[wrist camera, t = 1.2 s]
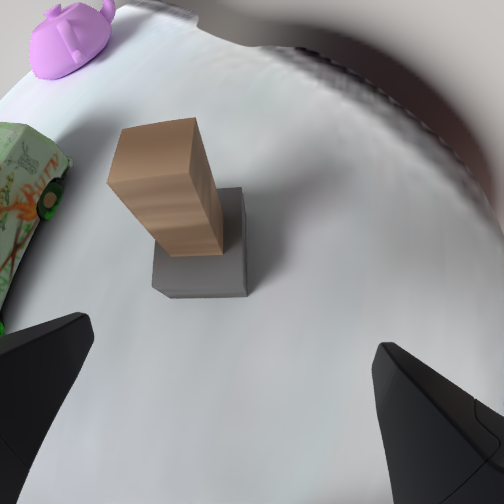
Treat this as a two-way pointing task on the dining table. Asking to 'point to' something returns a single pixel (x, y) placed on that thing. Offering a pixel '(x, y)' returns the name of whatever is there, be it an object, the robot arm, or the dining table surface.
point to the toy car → (25, 192)
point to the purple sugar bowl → (69, 38)
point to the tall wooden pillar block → (182, 210)
